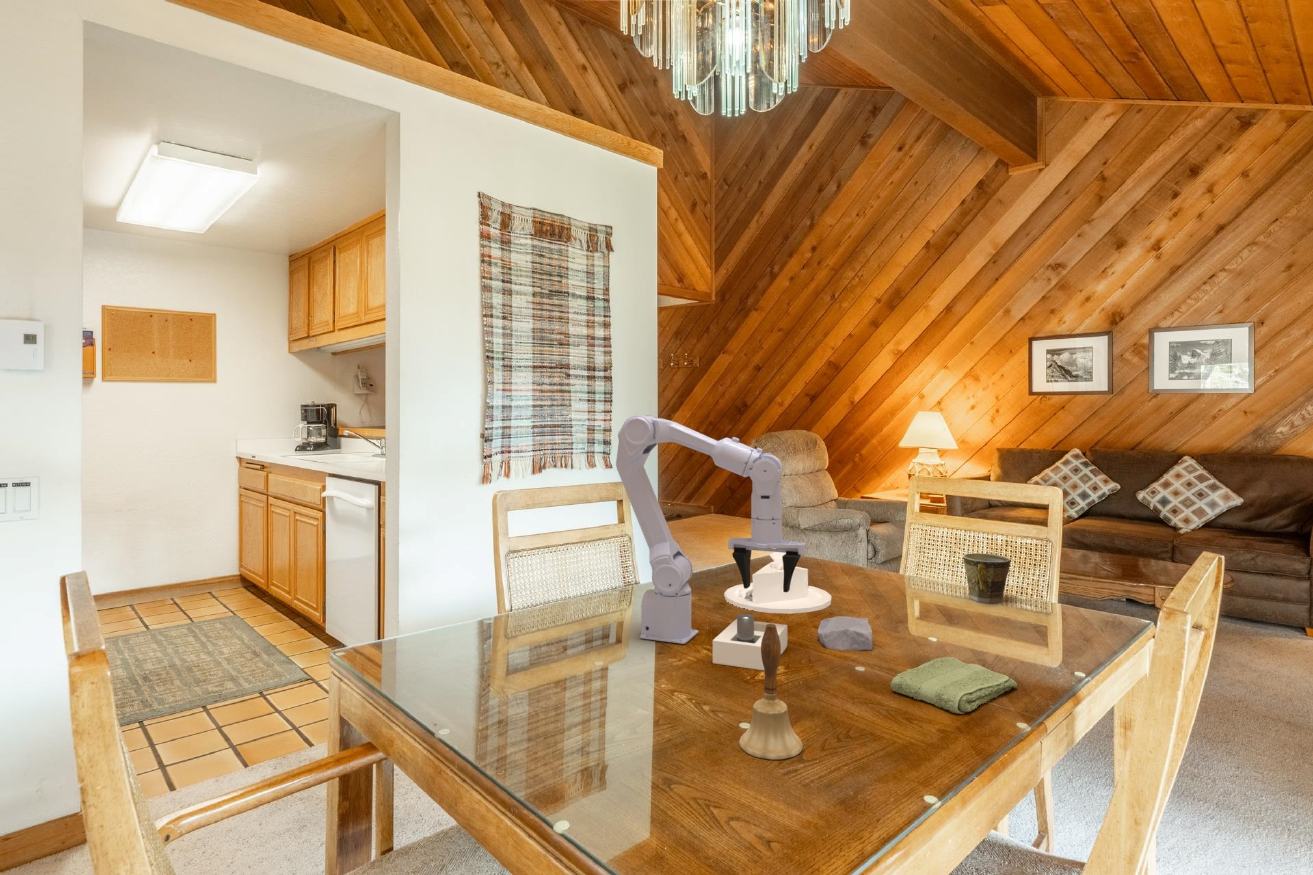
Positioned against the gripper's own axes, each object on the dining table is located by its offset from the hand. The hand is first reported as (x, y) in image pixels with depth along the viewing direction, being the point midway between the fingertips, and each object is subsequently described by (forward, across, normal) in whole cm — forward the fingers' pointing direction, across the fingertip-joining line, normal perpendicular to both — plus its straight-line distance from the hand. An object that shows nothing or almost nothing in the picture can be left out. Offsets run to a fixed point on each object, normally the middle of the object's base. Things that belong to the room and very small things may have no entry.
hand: (766, 589), depth 133 cm
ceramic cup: (+11, +39, +49) cm, 64 cm away
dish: (+11, -6, +33) cm, 35 cm away
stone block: (+11, +13, +8) cm, 19 cm away
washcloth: (+11, +33, -10) cm, 36 cm away
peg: (+10, -1, -11) cm, 15 cm away
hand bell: (+11, +11, -40) cm, 43 cm away
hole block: (+10, -1, -7) cm, 13 cm away
